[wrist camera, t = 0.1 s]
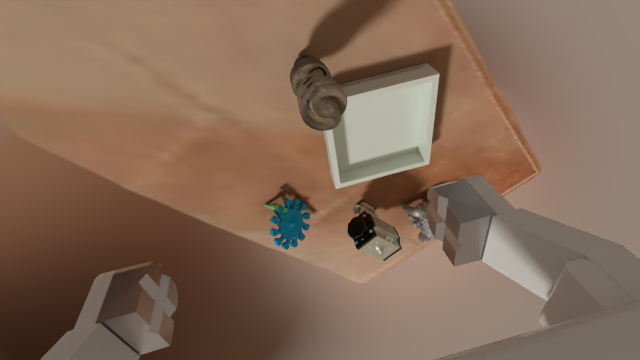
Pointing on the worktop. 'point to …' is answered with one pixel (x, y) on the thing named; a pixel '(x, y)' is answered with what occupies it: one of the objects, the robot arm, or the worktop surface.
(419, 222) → the gray elephant figurine
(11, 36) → the worktop surface
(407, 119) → the tray
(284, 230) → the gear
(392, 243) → the pneumatic valve
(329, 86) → the light bulb
